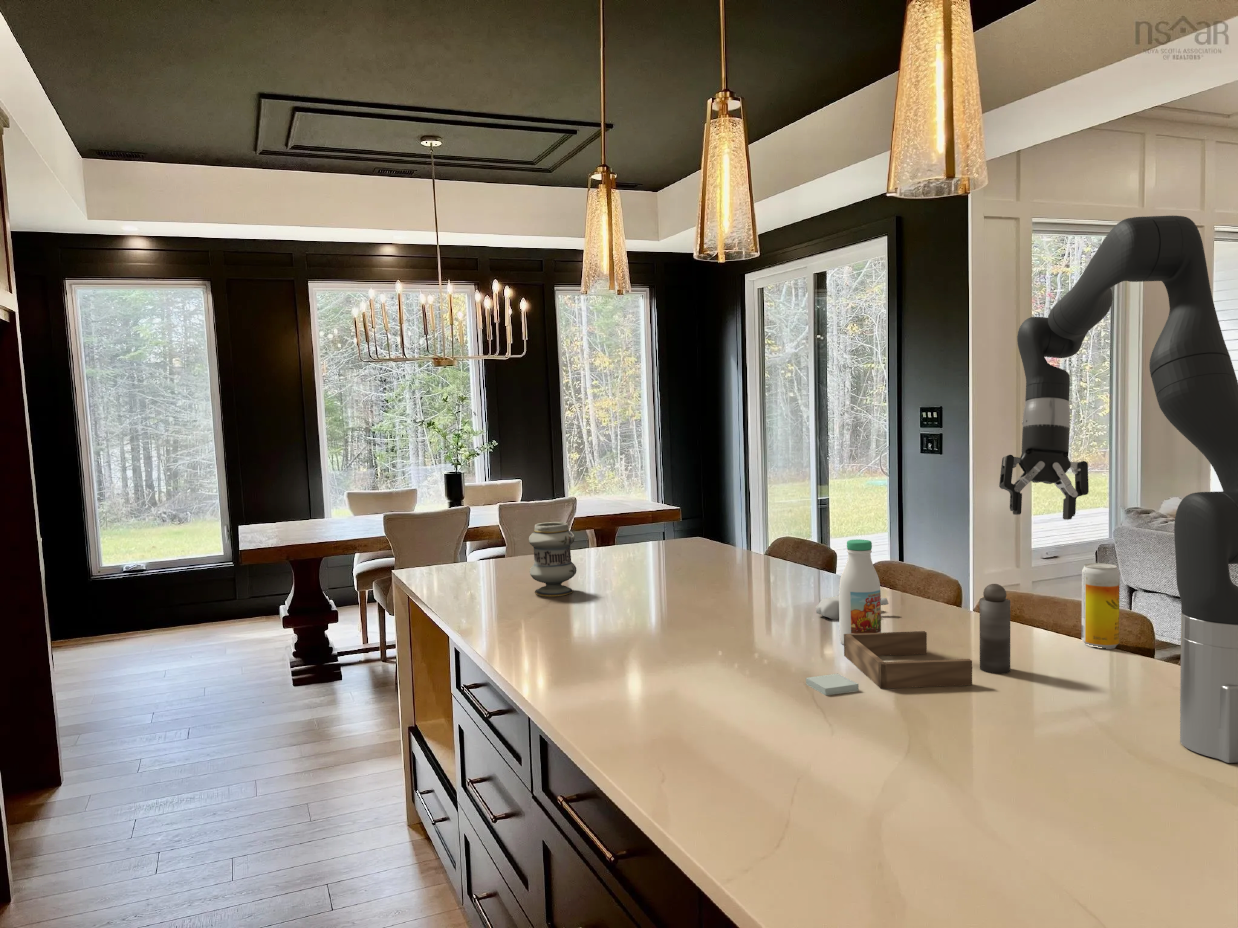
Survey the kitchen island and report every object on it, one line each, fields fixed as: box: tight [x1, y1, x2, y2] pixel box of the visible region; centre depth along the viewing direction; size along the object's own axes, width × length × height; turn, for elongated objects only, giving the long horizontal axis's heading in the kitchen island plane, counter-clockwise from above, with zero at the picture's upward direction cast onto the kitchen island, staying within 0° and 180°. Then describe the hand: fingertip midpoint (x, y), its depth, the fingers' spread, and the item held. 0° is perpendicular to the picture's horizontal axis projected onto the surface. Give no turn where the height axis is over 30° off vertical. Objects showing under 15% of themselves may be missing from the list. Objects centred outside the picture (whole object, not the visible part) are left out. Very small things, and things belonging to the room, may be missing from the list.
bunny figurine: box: [815, 594, 889, 620], centre depth 185 cm, size 10×5×15 cm
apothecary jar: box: [528, 521, 577, 597], centre depth 217 cm, size 12×12×18 cm
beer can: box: [1081, 562, 1121, 650], centre depth 156 cm, size 6×6×15 cm
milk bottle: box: [838, 538, 882, 646], centre depth 161 cm, size 8×8×20 cm
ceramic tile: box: [805, 673, 860, 696], centre depth 136 cm, size 6×6×2 cm
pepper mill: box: [979, 583, 1011, 675], centre depth 143 cm, size 5×5×15 cm
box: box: [843, 630, 973, 689], centre depth 145 cm, size 19×15×4 cm
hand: (1042, 516), depth 148 cm, fingers open, 8 cm apart
